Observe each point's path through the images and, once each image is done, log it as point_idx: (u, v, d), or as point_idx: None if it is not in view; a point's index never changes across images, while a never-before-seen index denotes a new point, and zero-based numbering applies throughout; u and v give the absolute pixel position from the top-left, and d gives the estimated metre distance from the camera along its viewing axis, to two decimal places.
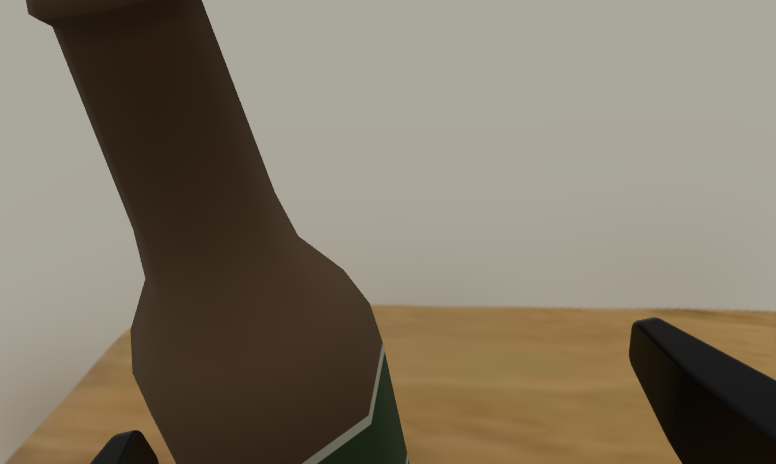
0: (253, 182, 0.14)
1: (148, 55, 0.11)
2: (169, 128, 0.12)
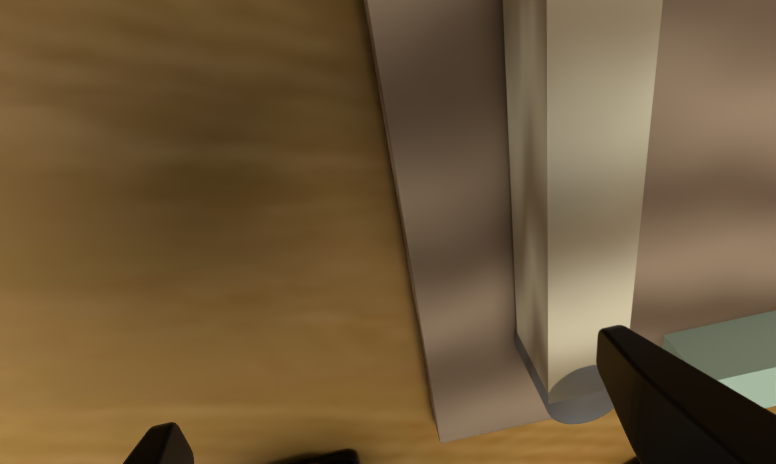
0: None
1: None
2: None
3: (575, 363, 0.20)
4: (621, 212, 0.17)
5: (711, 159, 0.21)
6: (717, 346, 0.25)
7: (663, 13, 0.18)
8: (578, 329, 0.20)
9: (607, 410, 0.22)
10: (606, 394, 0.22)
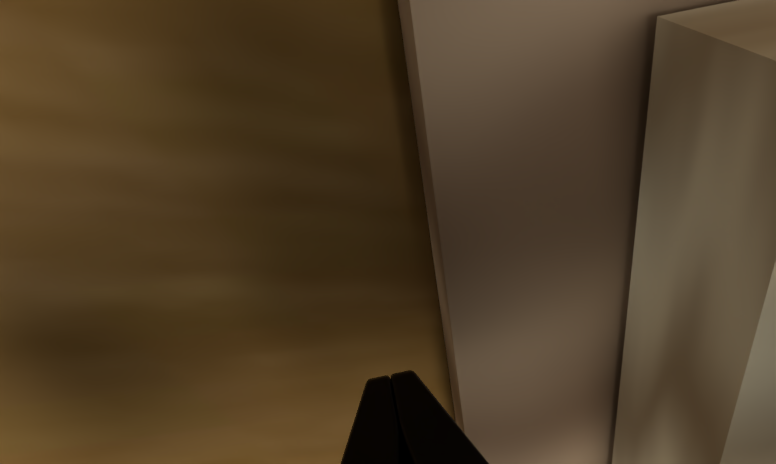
0: None
1: None
2: None
3: None
4: None
5: None
6: None
7: None
8: None
9: None
10: None
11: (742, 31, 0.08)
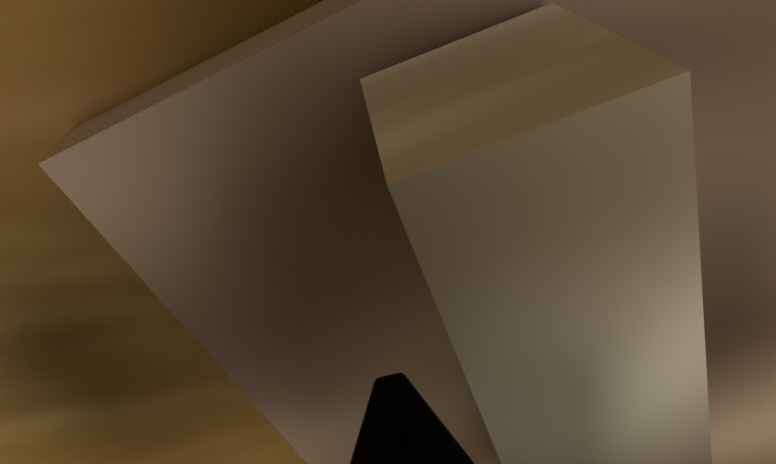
0: None
1: None
2: None
3: None
4: None
5: None
6: None
7: None
8: None
9: None
10: None
11: (399, 100, 0.07)
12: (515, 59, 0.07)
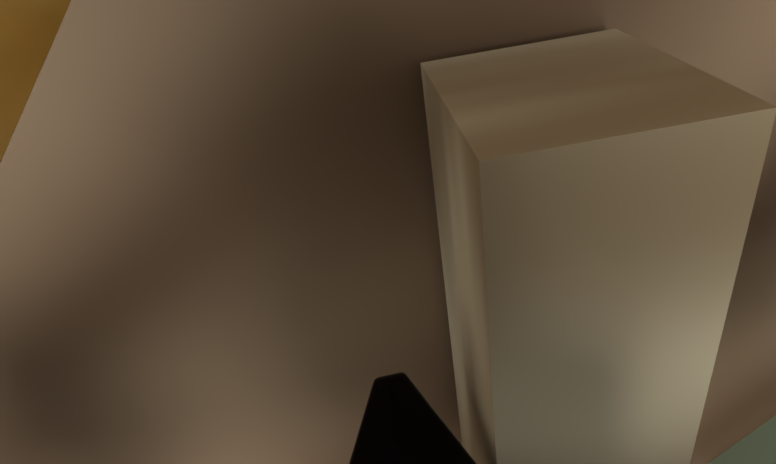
0: None
1: None
2: None
3: None
4: None
5: None
6: None
7: (179, 286, 0.10)
8: None
9: None
10: None
11: (472, 88, 0.07)
12: (590, 71, 0.07)
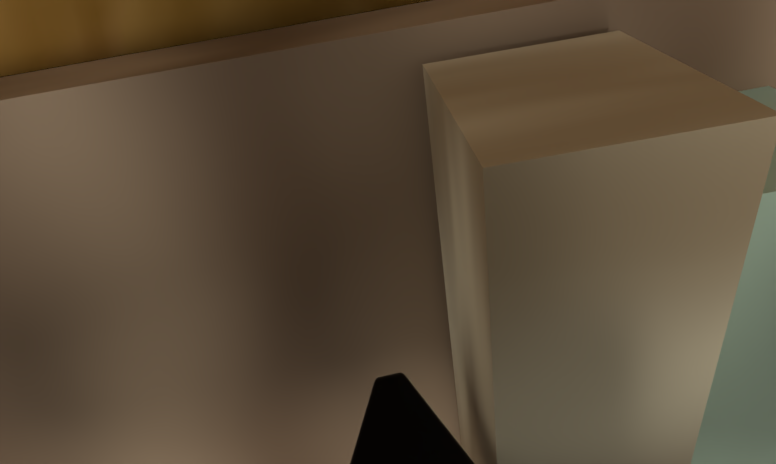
0: None
1: None
2: None
3: None
4: None
5: (230, 463, 0.13)
6: None
7: None
8: None
9: None
10: None
11: (475, 92, 0.07)
12: (594, 74, 0.07)
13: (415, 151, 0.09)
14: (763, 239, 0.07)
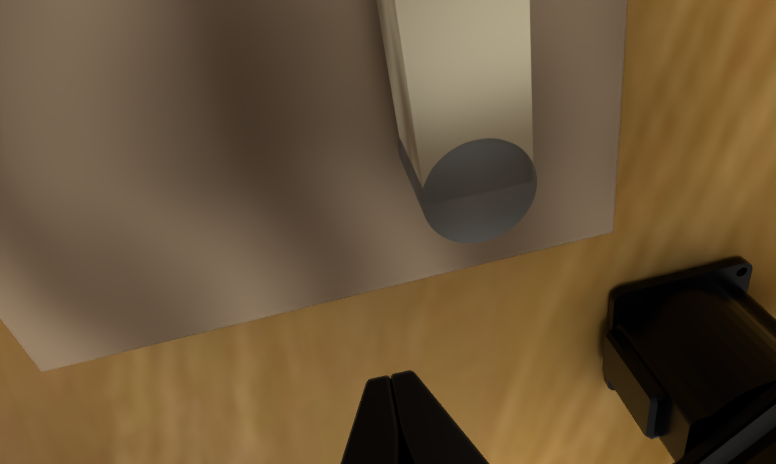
0: None
1: None
2: None
3: (455, 133, 0.14)
4: None
5: None
6: None
7: None
8: (452, 67, 0.13)
9: (514, 221, 0.16)
10: (509, 193, 0.15)
11: None
12: None
13: None
14: None
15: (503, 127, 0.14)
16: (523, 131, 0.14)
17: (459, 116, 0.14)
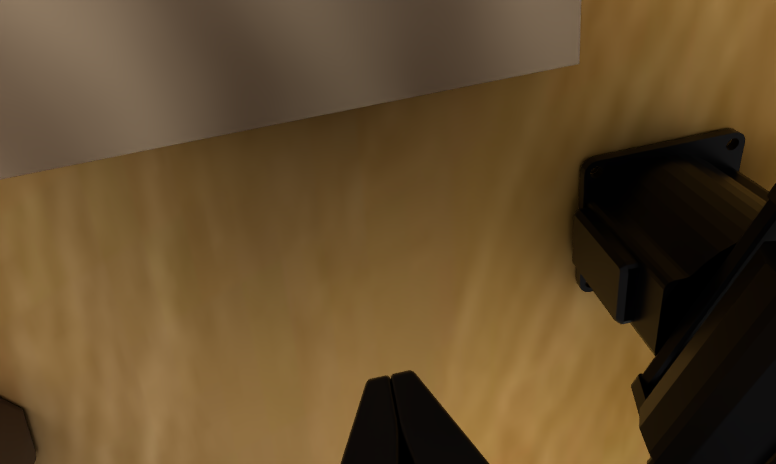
0: None
1: None
2: None
3: None
4: None
5: None
6: None
7: None
8: None
9: None
10: None
11: None
12: None
13: None
14: None
15: None
16: None
17: None
